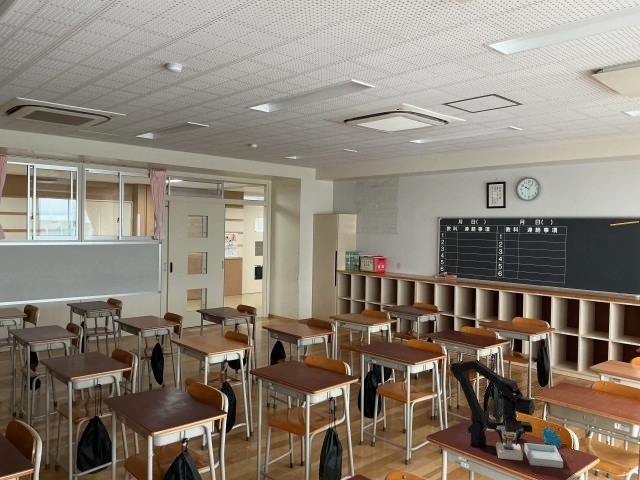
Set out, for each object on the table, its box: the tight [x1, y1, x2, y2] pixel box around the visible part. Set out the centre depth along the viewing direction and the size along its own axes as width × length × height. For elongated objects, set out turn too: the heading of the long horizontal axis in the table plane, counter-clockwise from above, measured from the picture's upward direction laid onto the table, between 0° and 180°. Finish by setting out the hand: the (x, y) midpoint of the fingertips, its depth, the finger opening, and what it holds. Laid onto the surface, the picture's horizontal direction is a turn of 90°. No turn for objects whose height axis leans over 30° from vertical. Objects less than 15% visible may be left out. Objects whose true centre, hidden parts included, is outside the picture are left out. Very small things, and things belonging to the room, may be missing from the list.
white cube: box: [501, 427, 516, 441], centre depth 252 cm, size 6×6×6 cm
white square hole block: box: [495, 441, 524, 461], centre depth 233 cm, size 10×10×3 cm
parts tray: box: [523, 442, 564, 469], centre depth 229 cm, size 13×16×3 cm
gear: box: [542, 426, 562, 449], centre depth 244 cm, size 11×6×10 cm
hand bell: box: [485, 396, 497, 433], centre depth 264 cm, size 8×8×16 cm
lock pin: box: [504, 433, 514, 450], centre depth 233 cm, size 4×4×9 cm
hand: (509, 444), depth 233 cm, fingers open, 6 cm apart
